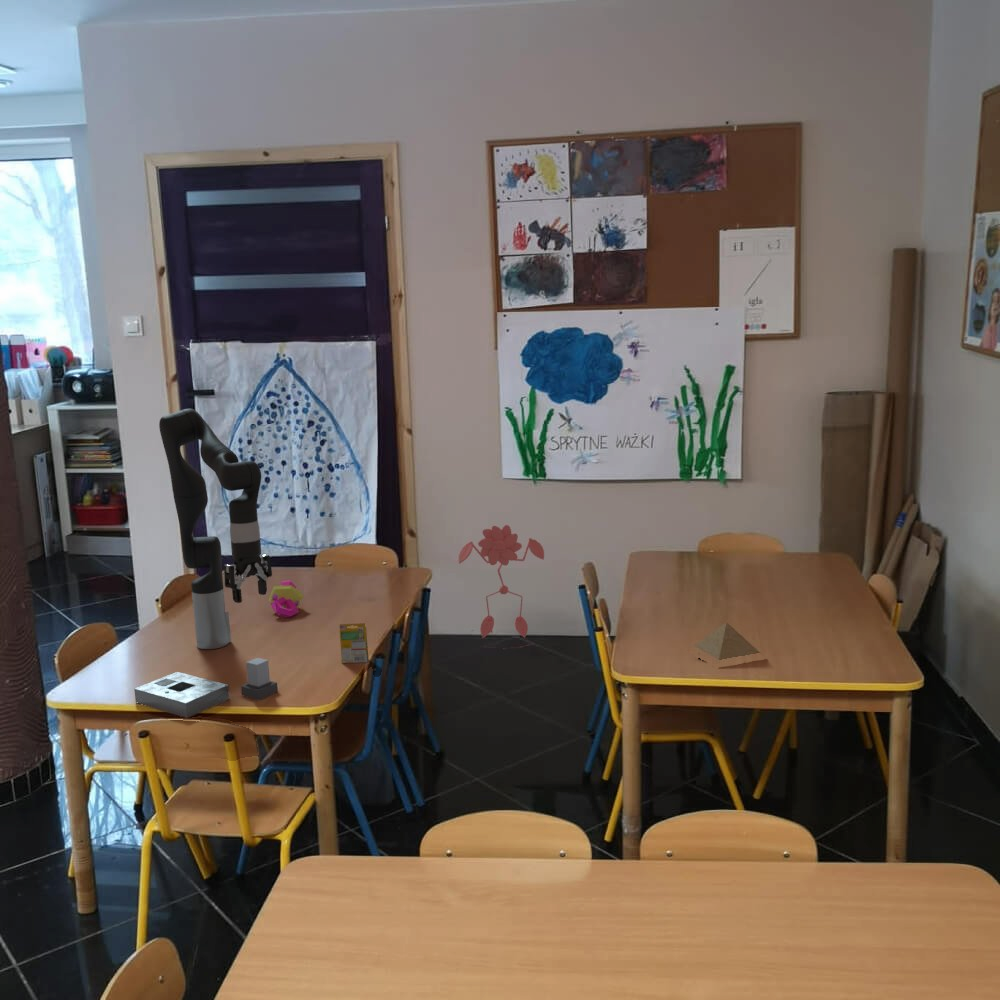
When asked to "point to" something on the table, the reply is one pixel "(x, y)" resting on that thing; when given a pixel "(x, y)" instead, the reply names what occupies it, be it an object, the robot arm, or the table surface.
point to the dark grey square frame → (259, 691)
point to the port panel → (182, 694)
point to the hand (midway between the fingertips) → (250, 598)
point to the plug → (258, 673)
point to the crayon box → (353, 643)
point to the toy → (285, 599)
